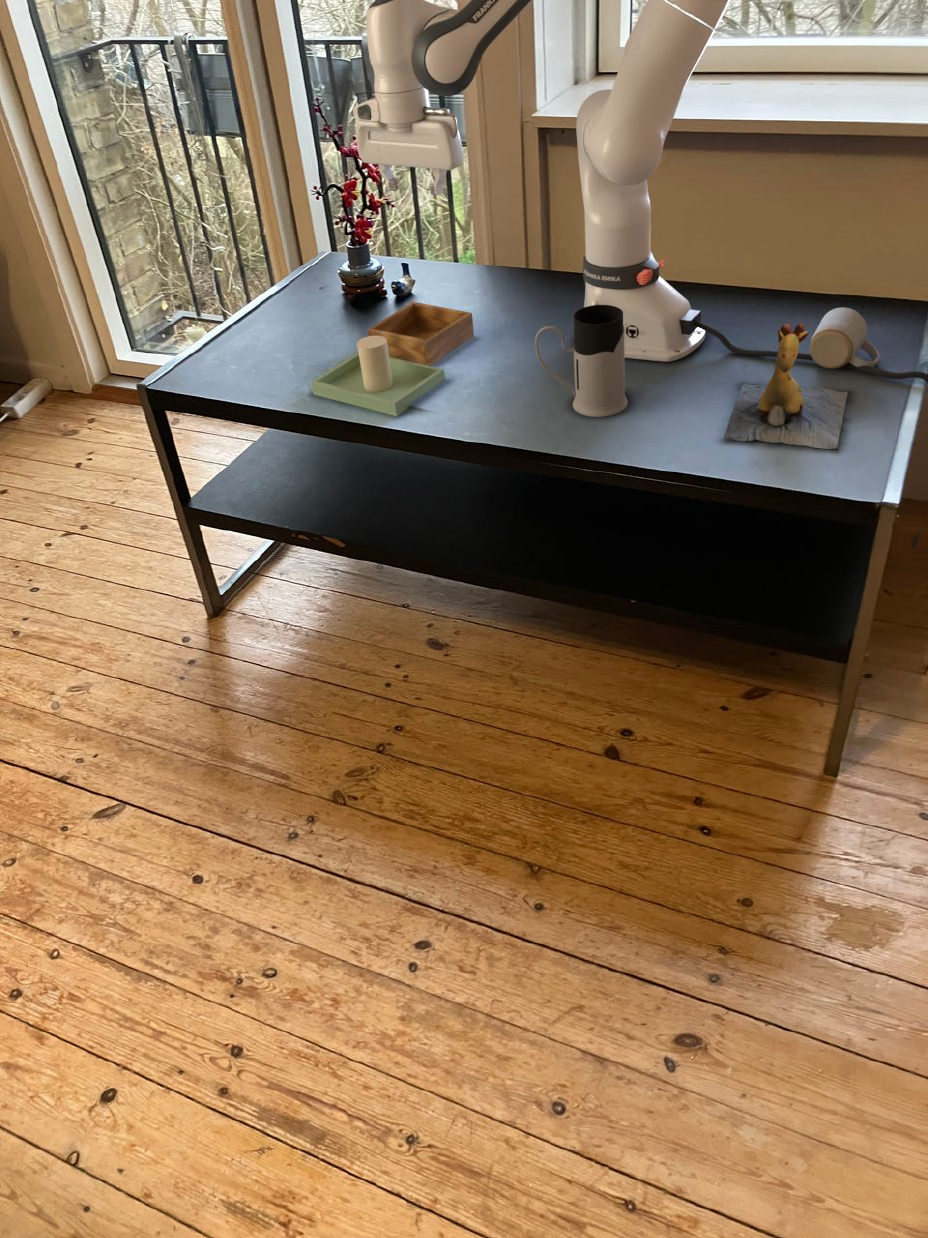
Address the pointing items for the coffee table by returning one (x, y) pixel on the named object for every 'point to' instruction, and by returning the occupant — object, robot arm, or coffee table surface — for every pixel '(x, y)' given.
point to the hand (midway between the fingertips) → (415, 191)
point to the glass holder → (596, 360)
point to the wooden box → (424, 332)
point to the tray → (406, 389)
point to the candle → (375, 363)
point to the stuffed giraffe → (787, 405)
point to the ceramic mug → (841, 340)
